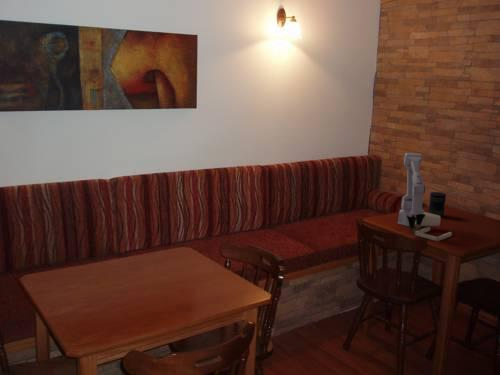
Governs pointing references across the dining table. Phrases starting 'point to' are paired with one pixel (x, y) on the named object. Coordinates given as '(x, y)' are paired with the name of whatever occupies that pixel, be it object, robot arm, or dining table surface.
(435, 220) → the foam cup
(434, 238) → the bay
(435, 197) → the green-striped black cylinder
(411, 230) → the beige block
